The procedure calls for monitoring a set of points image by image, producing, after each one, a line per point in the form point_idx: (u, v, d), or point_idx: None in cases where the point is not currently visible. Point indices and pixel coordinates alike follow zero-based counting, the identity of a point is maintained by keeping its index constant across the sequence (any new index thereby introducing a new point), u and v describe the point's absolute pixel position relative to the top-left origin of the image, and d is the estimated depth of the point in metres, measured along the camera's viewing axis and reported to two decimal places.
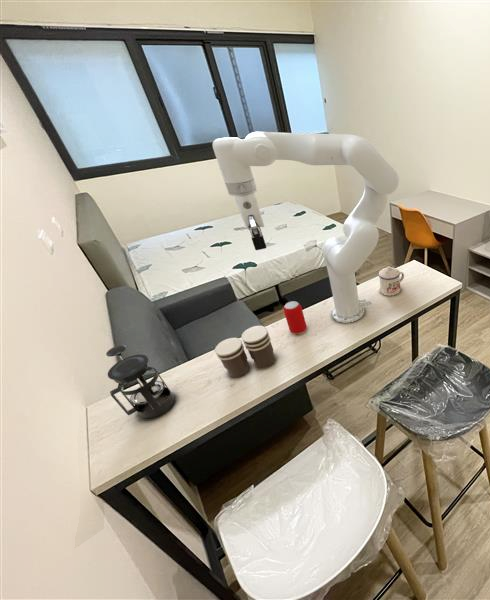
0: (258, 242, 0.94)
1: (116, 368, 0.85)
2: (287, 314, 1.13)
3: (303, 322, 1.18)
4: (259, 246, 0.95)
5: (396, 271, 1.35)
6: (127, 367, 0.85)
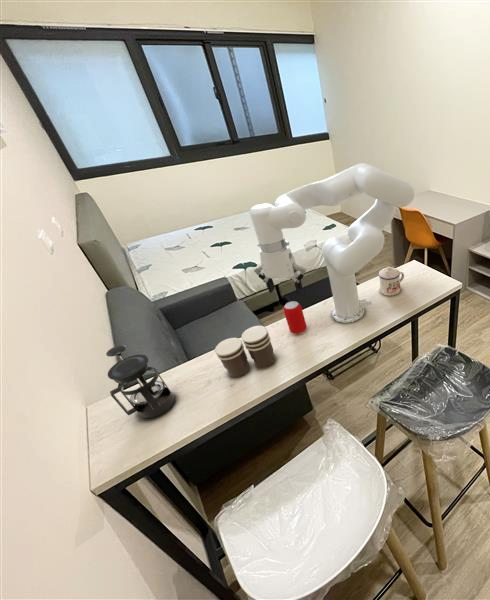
0: (300, 284, 1.09)
1: (116, 368, 0.85)
2: (287, 314, 1.13)
3: (303, 322, 1.18)
4: (301, 287, 1.10)
5: (396, 271, 1.35)
6: (127, 367, 0.85)
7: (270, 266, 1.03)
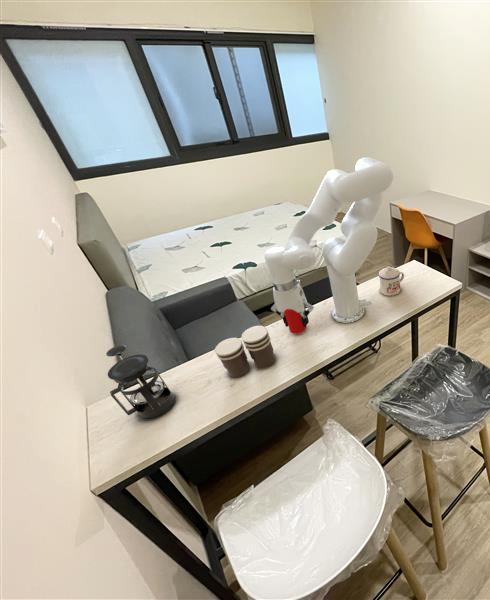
0: (307, 319, 1.18)
1: (116, 368, 0.85)
2: (287, 314, 1.13)
3: None
4: (307, 322, 1.18)
5: (396, 271, 1.35)
6: (127, 367, 0.85)
7: (282, 302, 1.11)
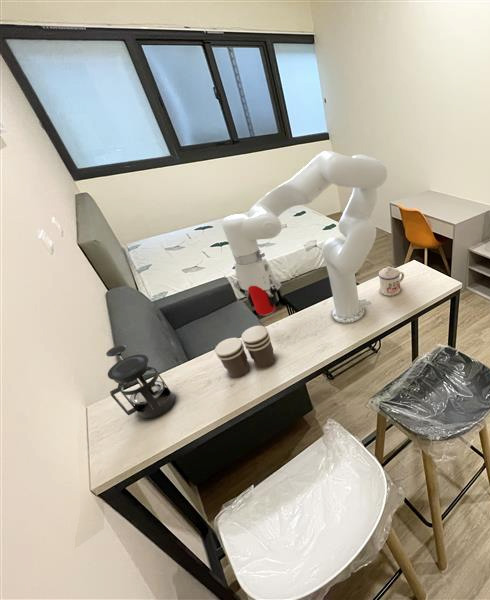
0: (275, 298, 1.06)
1: (116, 368, 0.85)
2: (251, 291, 1.02)
3: None
4: (275, 301, 1.07)
5: (396, 271, 1.35)
6: (127, 367, 0.85)
7: (245, 278, 1.00)
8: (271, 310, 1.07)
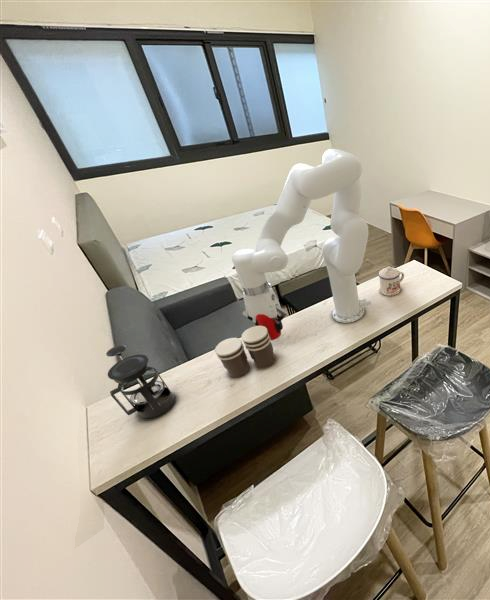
0: (280, 325, 1.12)
1: (116, 368, 0.85)
2: (258, 319, 1.07)
3: None
4: (281, 328, 1.12)
5: (396, 271, 1.35)
6: (127, 367, 0.85)
7: (253, 307, 1.05)
8: (277, 336, 1.13)
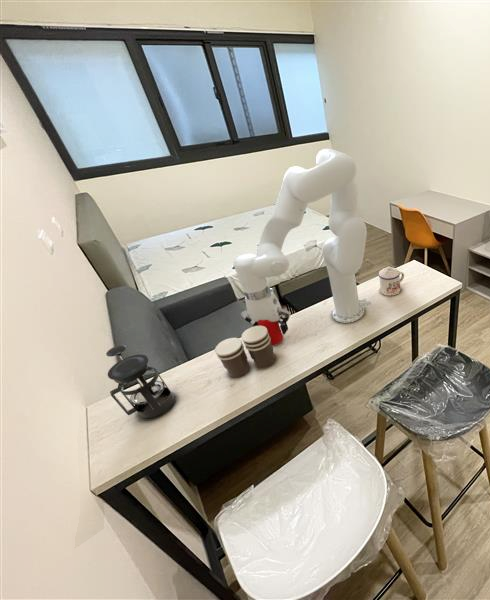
0: (286, 326, 1.12)
1: (116, 368, 0.85)
2: (260, 325, 1.09)
3: (279, 333, 1.13)
4: (287, 329, 1.13)
5: (396, 271, 1.35)
6: (127, 367, 0.85)
7: (255, 311, 1.06)
8: (279, 341, 1.14)
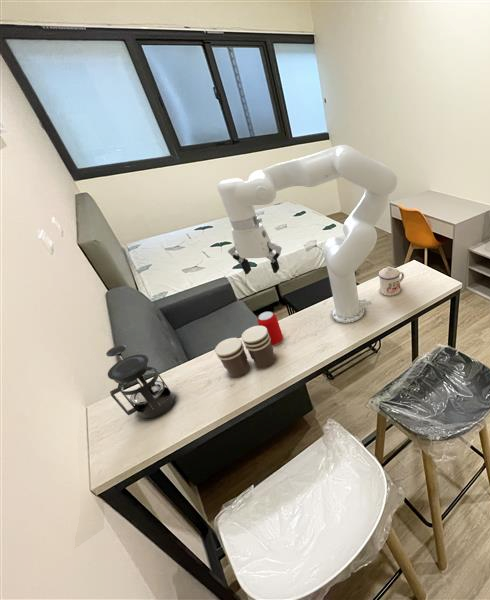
0: (277, 264, 1.05)
1: (116, 368, 0.85)
2: (260, 325, 1.09)
3: (279, 333, 1.13)
4: (278, 267, 1.06)
5: (396, 271, 1.35)
6: (127, 367, 0.85)
7: (243, 245, 0.99)
8: (279, 341, 1.14)
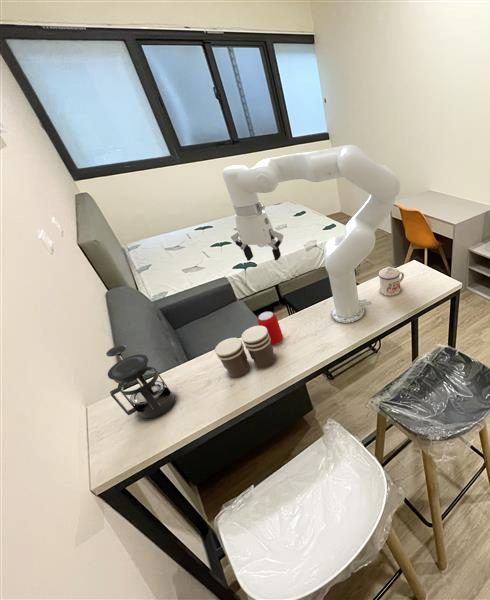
0: (278, 251, 1.07)
1: (116, 368, 0.85)
2: (260, 325, 1.09)
3: (279, 333, 1.13)
4: (279, 255, 1.08)
5: (396, 271, 1.35)
6: (127, 367, 0.85)
7: (246, 231, 1.01)
8: (279, 341, 1.14)
